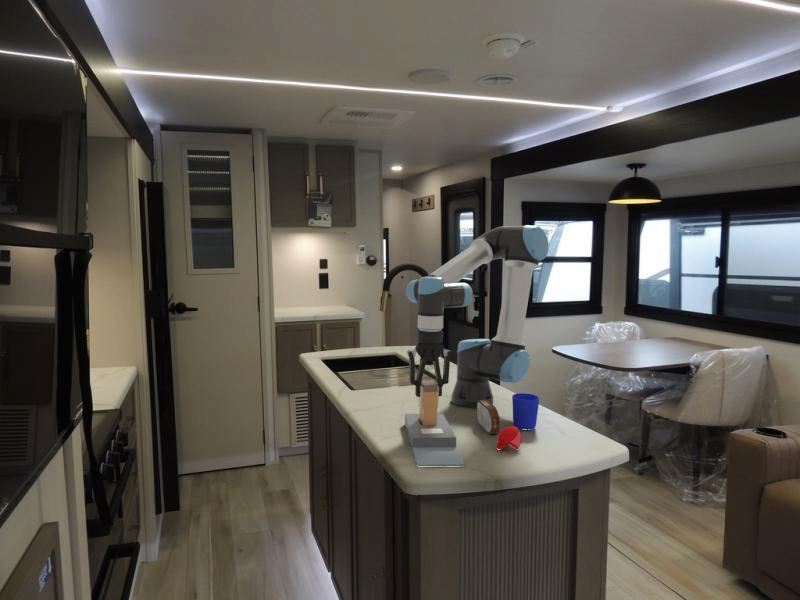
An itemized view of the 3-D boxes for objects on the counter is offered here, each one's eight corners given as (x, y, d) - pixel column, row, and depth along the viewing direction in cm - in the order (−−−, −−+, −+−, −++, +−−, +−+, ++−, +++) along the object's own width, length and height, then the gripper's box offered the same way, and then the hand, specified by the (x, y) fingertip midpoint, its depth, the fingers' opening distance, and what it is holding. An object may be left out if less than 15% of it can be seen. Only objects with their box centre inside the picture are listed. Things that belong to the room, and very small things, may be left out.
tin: (500, 437, 160) (501, 409, 159) (490, 438, 159) (491, 410, 158) (484, 421, 174) (485, 396, 174) (474, 422, 174) (475, 396, 173)
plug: (432, 418, 165) (433, 380, 164) (436, 425, 159) (437, 385, 158) (419, 419, 164) (420, 380, 163) (423, 425, 159) (424, 385, 157)
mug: (540, 422, 175) (541, 391, 174) (536, 433, 164) (538, 401, 163) (514, 419, 178) (515, 389, 177) (509, 430, 166) (510, 398, 166)
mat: (455, 449, 149) (455, 447, 149) (464, 467, 137) (465, 464, 137) (412, 450, 148) (412, 447, 148) (417, 467, 136) (417, 464, 136)
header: (442, 424, 171) (442, 412, 170) (455, 449, 149) (456, 436, 148) (404, 424, 169) (405, 413, 169) (412, 450, 148) (412, 437, 147)
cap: (512, 430, 156) (496, 421, 154) (526, 429, 151) (511, 420, 149) (505, 457, 152) (489, 448, 150) (520, 457, 148) (504, 448, 146)
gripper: (454, 327, 164) (452, 402, 167) (399, 327, 162) (397, 404, 164) (461, 331, 157) (459, 409, 159) (403, 331, 154) (402, 411, 156)
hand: (428, 406), depth 161 cm, fingers closed on plug, 4 cm apart
